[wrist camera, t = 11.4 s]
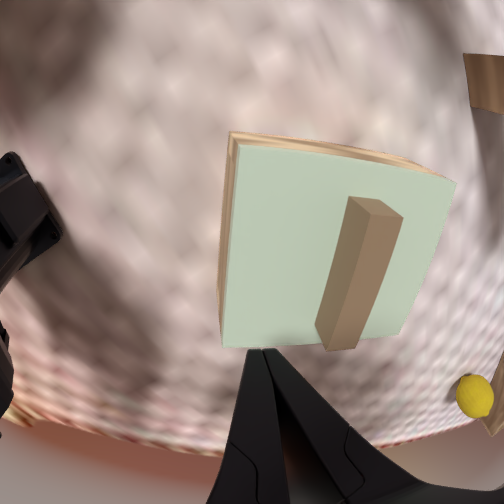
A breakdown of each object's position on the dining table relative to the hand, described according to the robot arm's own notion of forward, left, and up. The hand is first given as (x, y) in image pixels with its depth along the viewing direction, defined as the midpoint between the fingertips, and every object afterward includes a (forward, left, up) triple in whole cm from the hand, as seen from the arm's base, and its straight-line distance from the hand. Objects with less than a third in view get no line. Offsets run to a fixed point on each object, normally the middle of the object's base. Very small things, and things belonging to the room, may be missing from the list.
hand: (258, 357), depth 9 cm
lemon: (+20, -37, -11) cm, 43 cm away
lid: (+4, -3, -6) cm, 8 cm away
